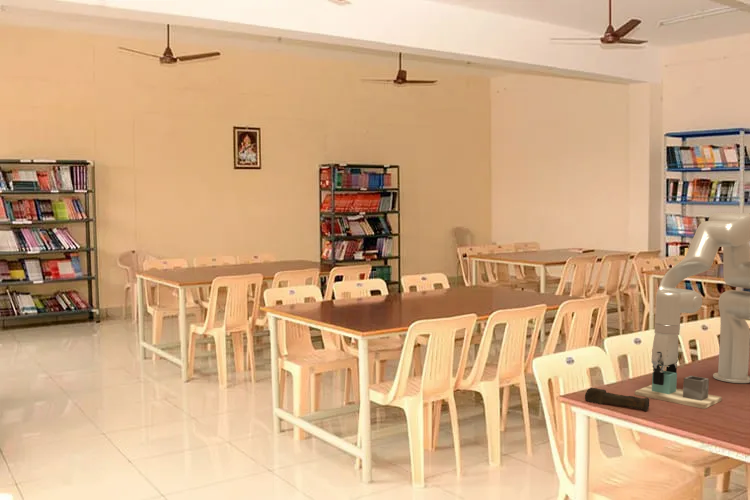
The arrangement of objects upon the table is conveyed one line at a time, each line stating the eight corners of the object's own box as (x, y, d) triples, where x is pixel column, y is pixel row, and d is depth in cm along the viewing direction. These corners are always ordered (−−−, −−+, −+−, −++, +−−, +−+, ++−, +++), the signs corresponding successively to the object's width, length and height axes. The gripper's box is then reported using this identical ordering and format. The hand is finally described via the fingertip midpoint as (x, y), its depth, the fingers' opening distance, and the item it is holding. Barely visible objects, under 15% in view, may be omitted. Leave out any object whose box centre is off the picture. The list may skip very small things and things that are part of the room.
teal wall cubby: (659, 388, 246) (660, 369, 246) (676, 391, 242) (677, 372, 242) (651, 390, 242) (652, 372, 242) (668, 394, 238) (669, 375, 238)
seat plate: (653, 387, 252) (654, 366, 251) (721, 400, 236) (722, 378, 236) (634, 394, 242) (635, 372, 241) (704, 408, 226) (705, 385, 226)
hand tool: (650, 410, 225) (650, 394, 224) (646, 413, 221) (647, 397, 221) (587, 399, 235) (588, 385, 235) (583, 402, 232) (584, 387, 232)
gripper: (666, 324, 249) (664, 375, 251) (643, 330, 237) (641, 384, 238) (689, 327, 244) (687, 379, 245) (667, 334, 232) (664, 388, 233)
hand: (664, 381), depth 242 cm, fingers open, 9 cm apart
